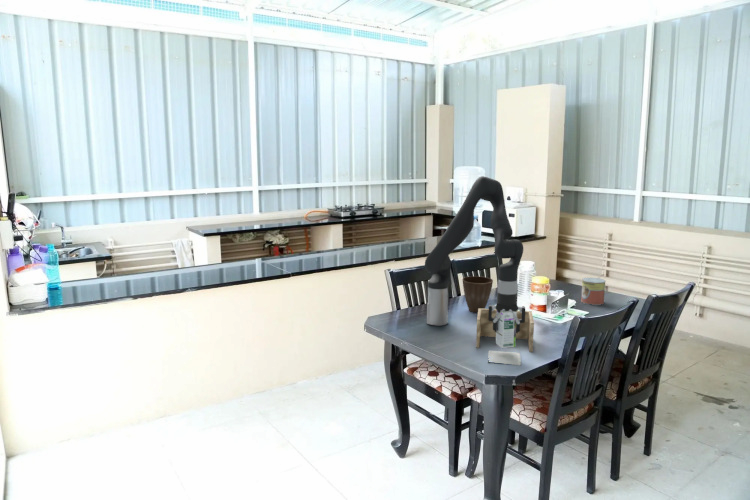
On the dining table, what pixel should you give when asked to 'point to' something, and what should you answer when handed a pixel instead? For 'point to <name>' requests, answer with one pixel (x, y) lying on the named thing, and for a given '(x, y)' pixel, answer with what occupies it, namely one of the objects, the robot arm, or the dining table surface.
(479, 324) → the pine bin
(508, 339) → the syrup box
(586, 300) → the canned food
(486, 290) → the plant pot
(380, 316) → the dining table surface
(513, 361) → the grey mat
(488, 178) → the robot arm
